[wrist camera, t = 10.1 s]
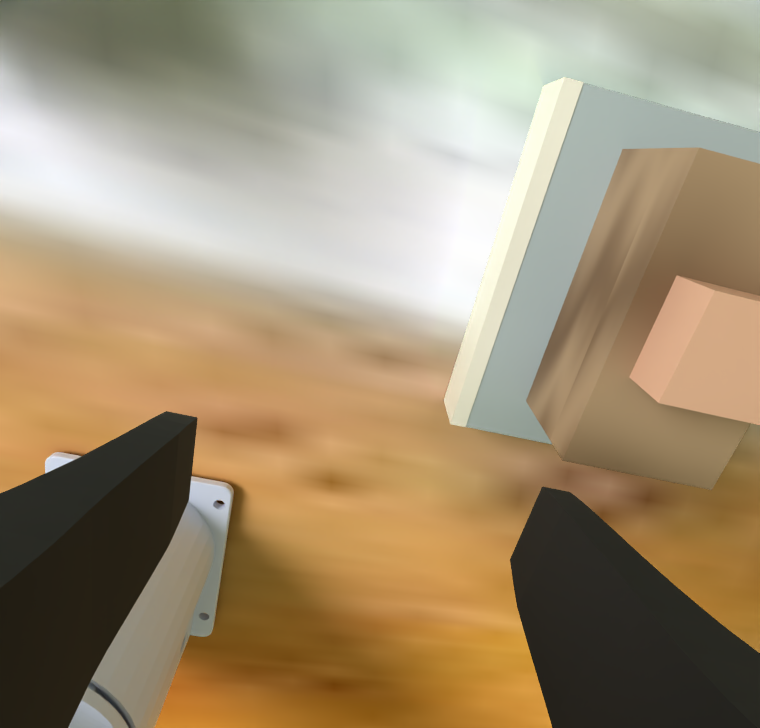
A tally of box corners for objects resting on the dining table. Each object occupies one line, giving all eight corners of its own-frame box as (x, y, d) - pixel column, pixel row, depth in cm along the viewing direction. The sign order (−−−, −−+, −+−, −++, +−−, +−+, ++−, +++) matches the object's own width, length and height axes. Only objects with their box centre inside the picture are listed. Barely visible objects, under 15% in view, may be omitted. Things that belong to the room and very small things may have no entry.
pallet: (647, 426, 19) (711, 490, 16) (525, 401, 19) (562, 460, 15) (767, 187, 16) (883, 197, 12) (622, 148, 16) (699, 147, 12)
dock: (661, 445, 22) (687, 472, 20) (443, 400, 21) (450, 424, 19) (810, 159, 18) (862, 160, 16) (543, 85, 17) (564, 77, 15)
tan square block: (724, 398, 15) (764, 426, 13) (629, 377, 14) (658, 402, 13) (779, 300, 13) (829, 318, 12) (676, 275, 13) (715, 290, 12)
